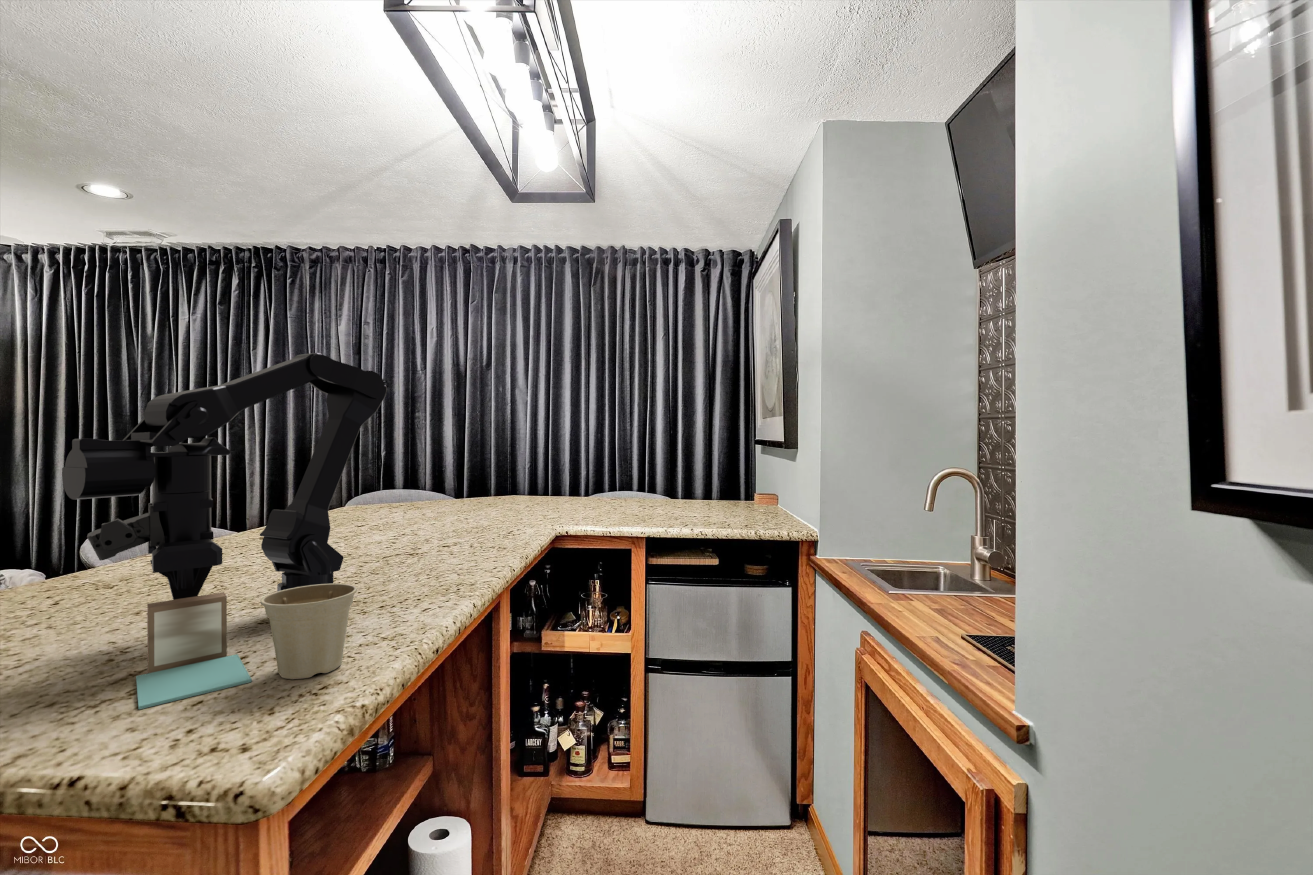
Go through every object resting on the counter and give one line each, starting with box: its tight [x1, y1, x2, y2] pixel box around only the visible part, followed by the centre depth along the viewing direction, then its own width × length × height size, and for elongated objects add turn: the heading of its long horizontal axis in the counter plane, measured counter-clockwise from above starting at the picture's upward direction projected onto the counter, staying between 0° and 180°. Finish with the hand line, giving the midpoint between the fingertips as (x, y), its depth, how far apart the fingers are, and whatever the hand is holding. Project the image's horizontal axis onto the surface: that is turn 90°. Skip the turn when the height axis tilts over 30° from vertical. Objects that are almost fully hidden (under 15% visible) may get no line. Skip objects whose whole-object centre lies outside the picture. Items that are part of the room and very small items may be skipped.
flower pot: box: [260, 582, 358, 680], centre depth 64 cm, size 9×9×9 cm
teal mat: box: [135, 653, 252, 710], centre depth 61 cm, size 9×10×1 cm
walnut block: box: [146, 591, 228, 674], centre depth 66 cm, size 7×2×8 cm, turn 134°
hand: (182, 615), depth 72 cm, fingers closed
